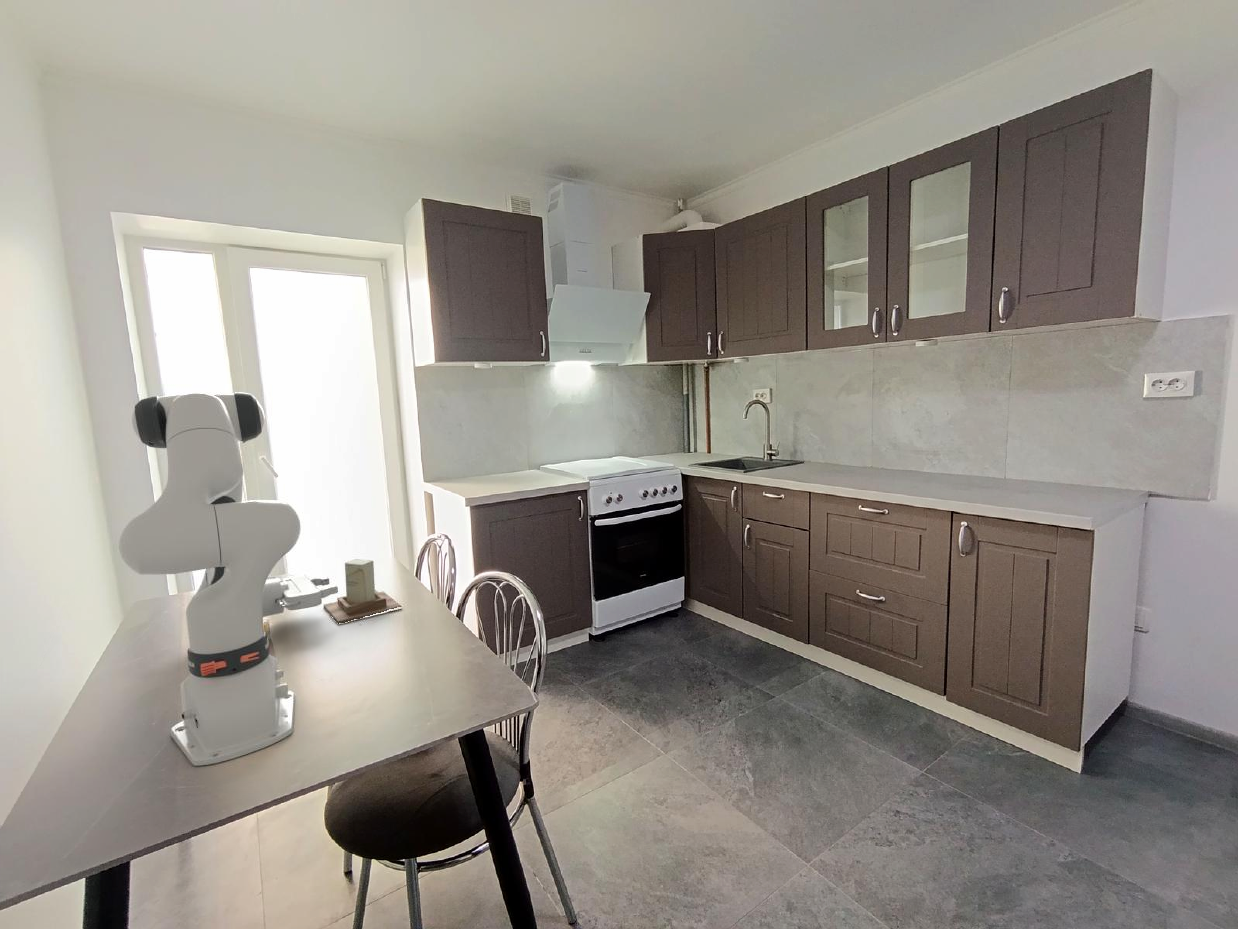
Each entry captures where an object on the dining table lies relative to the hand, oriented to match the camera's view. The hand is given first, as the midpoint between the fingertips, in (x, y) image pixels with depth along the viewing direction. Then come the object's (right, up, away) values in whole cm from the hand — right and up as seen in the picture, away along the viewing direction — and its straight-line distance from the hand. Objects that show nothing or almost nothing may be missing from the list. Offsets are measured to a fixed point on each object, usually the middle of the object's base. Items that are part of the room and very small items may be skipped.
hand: (332, 584), depth 152 cm
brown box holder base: (+5, -8, +5) cm, 11 cm away
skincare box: (+5, -7, +5) cm, 10 cm away
